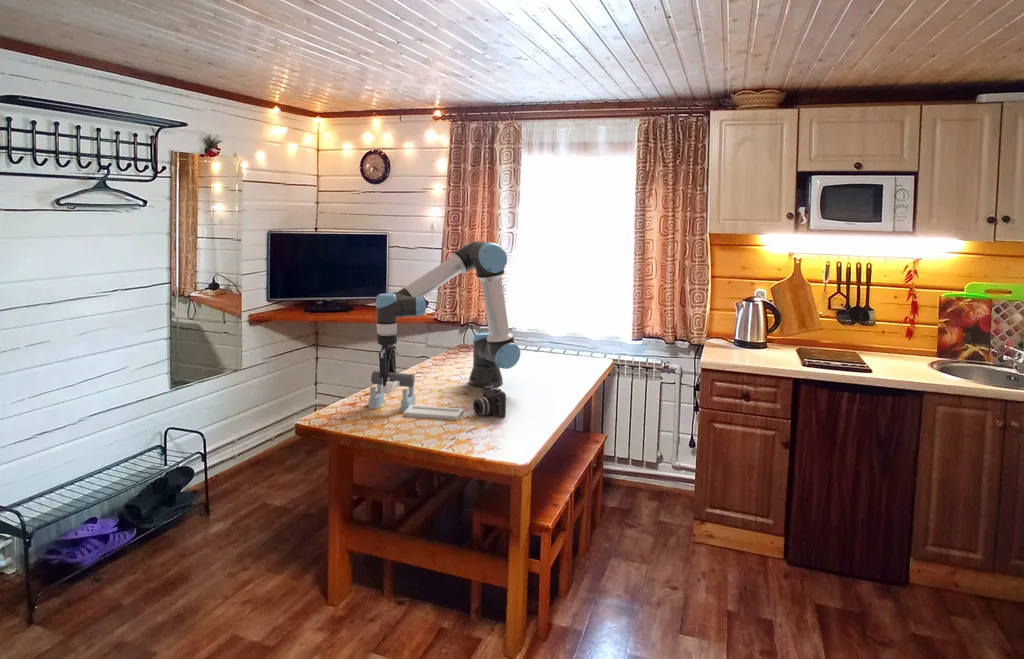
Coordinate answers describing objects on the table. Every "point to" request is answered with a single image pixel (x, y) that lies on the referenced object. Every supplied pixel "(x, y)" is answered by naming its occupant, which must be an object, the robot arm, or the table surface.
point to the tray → (433, 412)
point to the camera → (491, 402)
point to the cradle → (378, 398)
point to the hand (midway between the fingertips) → (388, 391)
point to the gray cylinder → (394, 378)
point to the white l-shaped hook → (392, 385)
